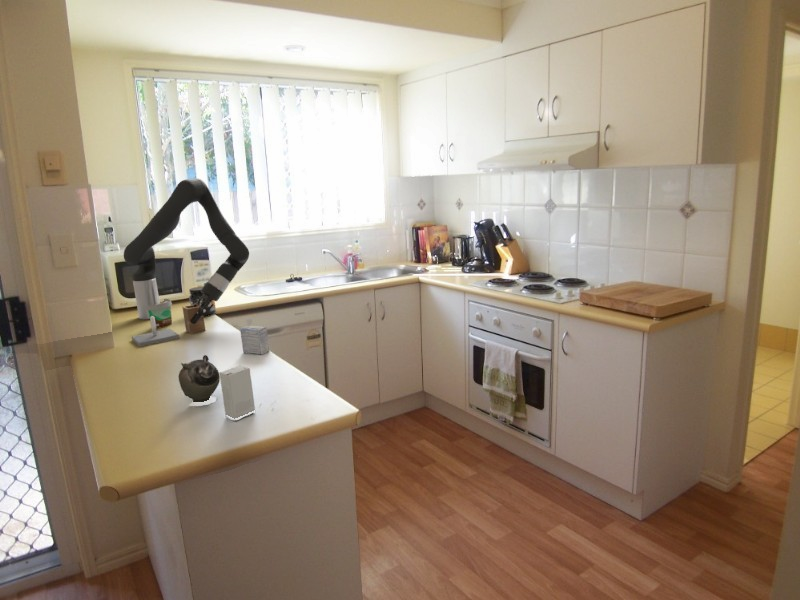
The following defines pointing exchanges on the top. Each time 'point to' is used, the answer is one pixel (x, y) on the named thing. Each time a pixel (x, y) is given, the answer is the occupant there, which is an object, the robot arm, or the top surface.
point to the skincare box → (237, 391)
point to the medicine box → (254, 339)
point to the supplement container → (197, 292)
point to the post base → (156, 338)
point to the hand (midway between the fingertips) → (189, 321)
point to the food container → (161, 313)
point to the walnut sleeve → (188, 315)
